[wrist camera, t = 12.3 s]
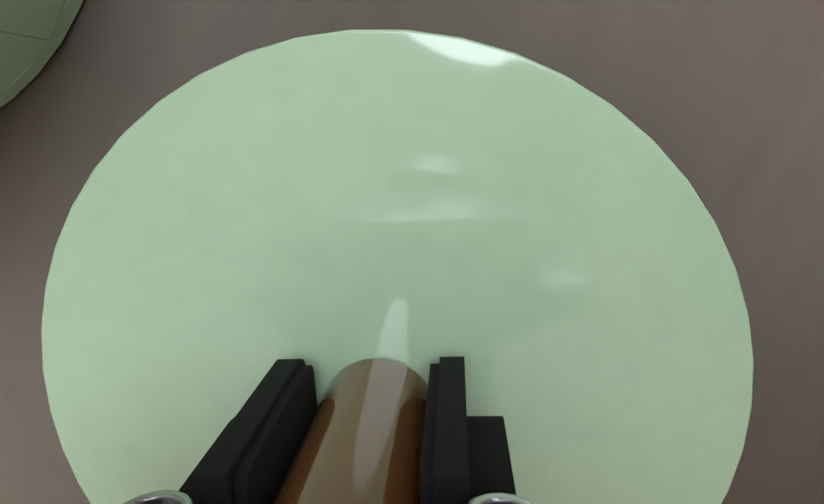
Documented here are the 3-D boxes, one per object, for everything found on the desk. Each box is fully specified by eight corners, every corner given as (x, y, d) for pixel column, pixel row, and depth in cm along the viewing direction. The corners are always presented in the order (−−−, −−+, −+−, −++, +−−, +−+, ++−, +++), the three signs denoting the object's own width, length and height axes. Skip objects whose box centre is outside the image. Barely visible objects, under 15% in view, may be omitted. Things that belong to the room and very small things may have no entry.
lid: (763, 9, 10) (1188, -138, 4) (697, 647, 14) (871, 1026, 8) (7, 62, 12) (-453, 5, 6) (138, 628, 16) (-54, 940, 10)
